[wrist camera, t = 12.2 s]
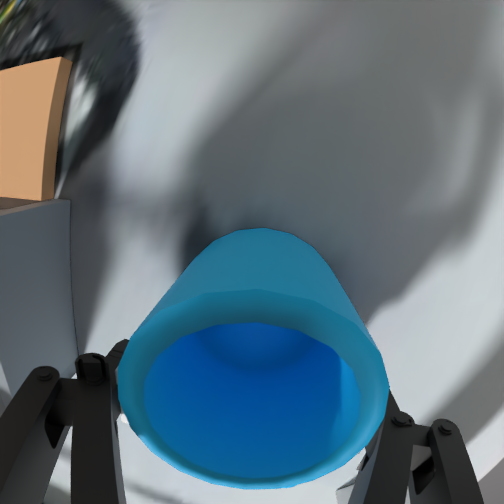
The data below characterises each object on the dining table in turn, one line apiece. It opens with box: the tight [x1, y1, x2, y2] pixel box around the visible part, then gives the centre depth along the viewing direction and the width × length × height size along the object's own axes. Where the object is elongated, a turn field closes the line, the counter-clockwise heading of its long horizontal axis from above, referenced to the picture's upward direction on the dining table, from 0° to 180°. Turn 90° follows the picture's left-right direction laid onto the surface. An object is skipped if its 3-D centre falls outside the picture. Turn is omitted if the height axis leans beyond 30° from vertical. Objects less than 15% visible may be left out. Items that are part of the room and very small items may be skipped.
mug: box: [117, 228, 390, 489], centre depth 13 cm, size 12×8×8 cm
